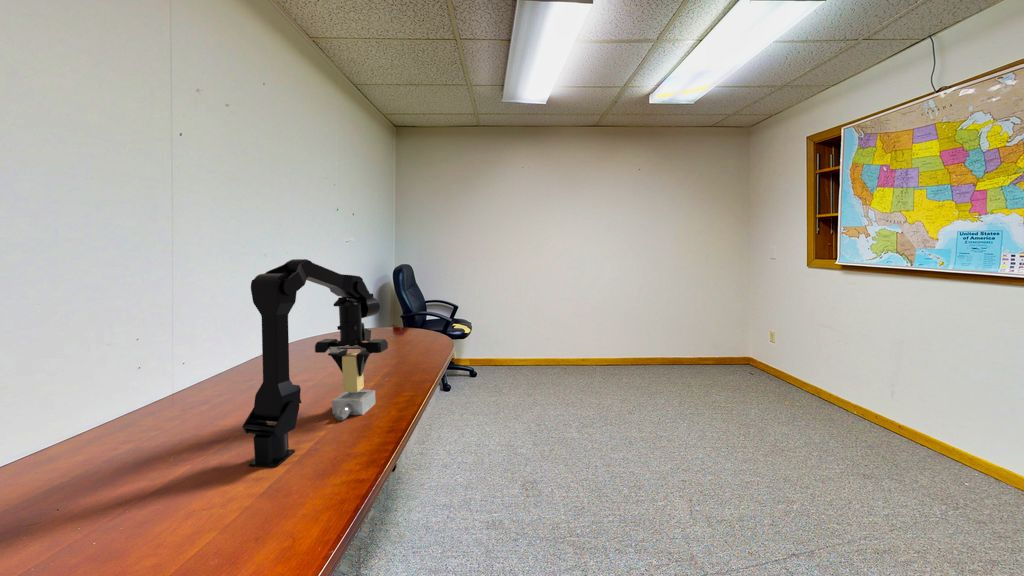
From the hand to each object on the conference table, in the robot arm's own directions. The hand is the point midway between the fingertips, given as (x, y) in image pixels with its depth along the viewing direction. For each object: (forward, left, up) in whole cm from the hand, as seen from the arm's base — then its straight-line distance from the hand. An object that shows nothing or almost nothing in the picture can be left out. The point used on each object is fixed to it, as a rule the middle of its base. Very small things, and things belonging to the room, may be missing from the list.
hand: (353, 375), depth 113 cm
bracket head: (0, 0, -10) cm, 10 cm away
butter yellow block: (0, 0, -4) cm, 4 cm away
